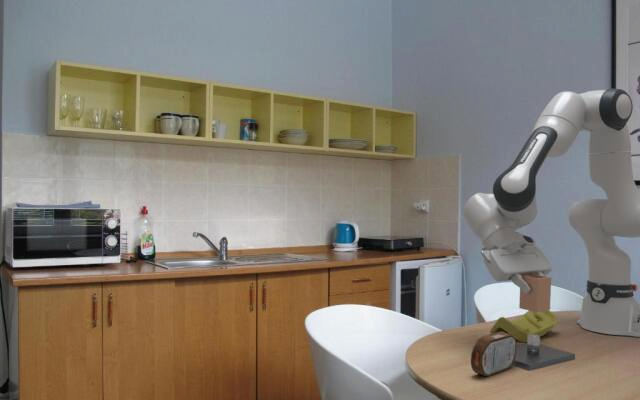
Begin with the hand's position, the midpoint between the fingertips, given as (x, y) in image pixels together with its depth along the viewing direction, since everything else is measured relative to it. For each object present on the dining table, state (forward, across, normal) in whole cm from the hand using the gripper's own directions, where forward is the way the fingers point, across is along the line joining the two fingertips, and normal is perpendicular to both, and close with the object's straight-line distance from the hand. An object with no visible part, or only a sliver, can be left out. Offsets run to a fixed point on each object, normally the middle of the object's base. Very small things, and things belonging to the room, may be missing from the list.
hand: (537, 290), depth 133 cm
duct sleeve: (+3, 0, +4) cm, 5 cm away
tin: (+13, -18, +10) cm, 24 cm away
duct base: (+11, -1, +12) cm, 16 cm away
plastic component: (+1, +18, +22) cm, 29 cm away
